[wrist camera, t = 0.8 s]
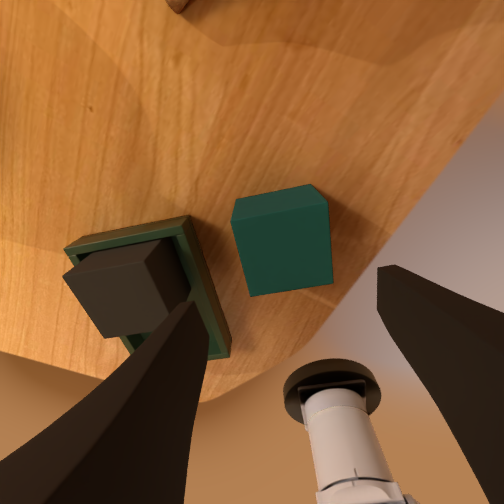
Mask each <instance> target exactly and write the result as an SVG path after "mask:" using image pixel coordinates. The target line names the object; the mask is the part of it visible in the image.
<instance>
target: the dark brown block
mask: <svg viewBox="0 0 504 504" xmlns="http://www.w3.org/2000/svg"><path fill="white" fill-rule="evenodd" d="M62 277H63V279H64V280H65V282H66V283H67V285H68V286H69V287H70V289H71V290H72V292H73V293H74V295H75V296H76V298H77V299H78V301H79V302H80V304H81V305H82V307H83V308H84V310H85V311H86V313H87V314H88V315H89V317H90V318H91V320H92V321H93V323H94V324H95V326H96V327H97V329H98V330H99V332H100V333H101V335H102V336H103V338H104V339H106V338H113V337H119V336H126V335H132V334H139V333H146V332H152V331H154V330H155V329H156V328H157V327H158V326H159V325H160V324H161V323H162V322H163V320H164V319H165V318H166V317H167V316H168V315H169V314H170V313H171V312H172V311H173V310H174V309H175V308H176V306H178V305H179V304H180V303H182V302H186V301H187V299H188V296H189V294H190V291H191V286H190V284H189V281H188V279H187V276H186V274H185V271H184V269H183V266H182V264H181V261H180V259H179V256H178V254H177V251H176V249H175V246H174V244H173V241H172V239H171V236H170V237H164V238H159V239H154V240H149V241H144V242H139V243H134V244H128V245H123V246H118V247H113V248H108V249H103V250H98V251H94V252H93V253H91V254H90V255H89V256H87V257H86V258H85V259H84V260H82V261H81V262H80V263H78V264H77V265H76V266H75V267H73V268H72V269H71V270H69V271H68V272H67V273H66V274H64V275H63V276H62Z"/></svg>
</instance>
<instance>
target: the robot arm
mask: <svg viewBox="0 0 504 504" xmlns="http://www.w3.org/2000/svg"><path fill="white" fill-rule="evenodd" d="M377 270H378V272H377V275H378V276H377V311H378V313H379V315H380V316H381V319H382V321H383V323H384V325H385V327H386V329H387V330H388V332H389V334H390V336H391V337H392V339H393V340H394V342H395V343H396V345H397V346H398V348H399V349H400V351H401V352H402V354H403V355H404V357H405V358H406V360H407V361H408V362H409V364H410V365H411V367H412V368H413V370H414V371H415V373H416V374H417V376H418V377H419V379H420V380H421V382H422V383H423V385H424V386H425V387H426V389H427V390H428V392H429V393H430V395H431V397H432V398H433V400H434V402H435V403H436V405H437V406H438V408H439V410H440V412H441V413H442V415H443V417H444V419H445V420H446V422H447V424H448V426H449V427H450V429H451V431H452V433H453V435H454V437H455V439H456V440H457V442H458V444H459V446H460V448H461V450H462V452H463V453H464V455H465V457H466V459H467V461H468V463H469V465H470V467H471V468H472V470H473V472H474V474H475V476H476V478H477V479H478V481H479V484H480V485H481V487H482V489H483V491H484V493H485V495H486V497H487V499H488V501H489V503H490V504H504V313H503V312H500V311H498V310H495V309H493V308H490V307H488V306H485V305H483V304H480V303H478V302H476V301H473V300H471V299H469V298H467V297H464V296H462V295H460V294H457V293H455V292H453V291H451V290H449V289H446V288H444V287H442V286H440V285H438V284H436V283H433V282H431V281H429V280H427V279H425V278H423V277H421V276H419V275H417V274H414V273H412V272H410V271H408V270H406V269H404V268H402V267H399V266H397V265H389V266H384V267H378V269H377ZM209 337H210V336H209V334H208V331H207V329H206V327H205V324H204V322H203V320H202V317H201V315H200V313H199V310H198V308H197V306H196V303H195V301H188V302H182V303H180V304H179V305H178V306H176V308H175V309H174V310H173V311H172V312H171V313H170V314H169V315H168V316H167V317H166V318H165V319H164V320H163V322H162V323H161V324H160V325H159V326H158V327H157V328H156V329H155V330H154V331H153V332H152V333H151V335H150V336H149V337H148V338H147V339H146V340H145V341H144V342H143V343H142V344H141V345H140V346H139V347H138V348H137V349H136V350H135V351H134V352H133V353H132V354H131V355H130V356H129V357H128V358H127V359H126V360H125V361H124V362H123V363H122V364H121V365H120V366H119V367H118V368H117V369H116V370H115V371H114V372H113V373H112V374H111V375H110V376H109V377H108V378H106V379H105V380H104V381H103V382H102V383H101V384H100V385H99V386H97V387H96V388H95V389H94V390H93V391H92V392H91V393H90V394H88V395H87V396H86V397H85V398H84V399H83V400H81V401H80V402H79V403H77V404H76V405H75V406H74V407H72V408H71V409H70V410H69V411H67V412H66V413H65V414H63V415H62V416H61V417H60V418H58V419H57V420H56V421H55V422H53V423H52V424H51V425H50V426H49V427H47V428H46V429H44V430H43V431H42V432H41V433H39V434H38V435H36V436H35V437H34V438H32V439H31V440H29V441H28V442H27V443H25V444H24V445H23V446H21V447H20V448H18V449H17V450H16V451H14V452H13V453H11V454H10V455H9V456H7V457H6V458H4V459H3V460H1V461H0V504H184V495H185V485H186V477H187V467H188V459H189V452H190V444H191V437H192V431H193V425H194V420H195V415H196V411H197V406H198V402H199V397H200V393H201V388H202V384H203V379H204V374H205V370H206V365H207V360H208V350H209ZM298 395H299V400H300V405H301V410H302V415H303V420H304V425H305V430H306V431H308V432H309V437H310V443H311V449H312V455H313V460H314V466H315V472H316V478H317V484H318V489H319V492H316V498H317V504H420V503H419V502H418V501H416V500H415V499H414V498H413V497H412V496H411V495H410V494H404V495H402V492H401V490H400V487H399V485H398V483H397V482H394V479H393V477H392V474H391V472H390V469H389V467H388V464H387V461H386V459H385V456H384V454H383V451H382V449H381V446H380V444H379V441H378V438H377V436H376V433H375V431H374V428H373V426H372V423H371V421H370V418H369V415H368V413H367V410H366V383H365V380H363V379H359V380H350V381H342V382H333V383H325V384H316V385H308V386H300V387H298Z"/></svg>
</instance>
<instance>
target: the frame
mask: <svg viewBox="0 0 504 504" xmlns="http://www.w3.org/2000/svg"><path fill="white" fill-rule="evenodd" d="M170 236H171V239H172V241H173V244H174V246H175V249H176V251H177V254H178V256H179V259H180V261H181V264H182V266H183V269H184V271H185V274H186V276H187V279H188V281H189V284H190V286H191V291H190V294H189V296H188V299H187V301H186V302H188V301H195V303H196V306H197V308H198V310H199V313H200V315H201V317H202V320H203V322H204V324H205V327H206V329H207V331H208V334H209V336H210V337H209V350H208V360H215V359H223V358H230V353H231V343H232V338H231V335H230V332H229V329H228V326H227V323H226V321H225V318H224V315H223V312H222V309H221V306H220V303H219V300H218V297H217V294H216V291H215V289H214V286H213V283H212V280H211V277H210V274H209V271H208V268H207V265H206V262H205V259H204V256H203V254H202V251H201V248H200V245H199V242H198V239H197V236H196V233H195V230H194V227H193V224H192V222H191V219H190V216H189V215H186V216H181V217H176V218H171V219H166V220H161V221H156V222H151V223H147V224H142V225H137V226H132V227H127V228H122V229H117V230H112V231H107V232H102V233H97V234H92V235H87V236H82V237H81V238H79V239H78V240H76V241H74V242H73V243H71V244H70V245H68V246H67V247H65V248H64V251H65V253H66V254H67V256H69V259H70V260H71V262H72V263H73V265H74V267H75V266H76V265H77V264H78V263H80V262H81V261H82V260H84V259H85V258H86V257H87V256H89V255H90V254H91V253H93V252H94V251H98V250H103V249H108V248H113V247H118V246H123V245H128V244H134V243H139V242H144V241H149V240H154V239H159V238H164V237H170ZM152 332H153V331H152ZM152 332H146V333H139V334H132V335H126V336H119V337H120V339H121V340H122V342H123V344H124V345H125V347H126V348H127V350H128V351H129V353H130V355H131V354H132V353H133V352H134V351H135V350H136V349H137V348H138V347H139V346H140V345H141V344H142V343H143V342H144V341H145V340H146V339H147V338H148V337H149V336H150V335H151V333H152ZM208 360H207V361H208Z"/></svg>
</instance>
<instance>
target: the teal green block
mask: <svg viewBox="0 0 504 504" xmlns="http://www.w3.org/2000/svg"><path fill="white" fill-rule="evenodd" d="M230 222H231V226H232V229H233V233H234V237H235V241H236V244H237V248H238V252H239V256H240V260H241V263H242V267H243V271H244V275H245V278H246V282H247V286H248V290H249V293H250V296H251V297H253V296H259V295H265V294H271V293H278V292H284V291H290V290H296V289H302V288H309V287H315V286H321V285H327V284H333V267H332V252H331V237H330V222H329V207H328V201H327V200H326V199H325V198H324V197H323V196H322V195H321V194H320V193H319V192H318V191H317V190H316V189H315V188H314V187H313V186H312V185H311V184H308V185H303V186H298V187H293V188H289V189H284V190H279V191H274V192H269V193H264V194H259V195H255V196H250V197H245V198H240V199H236V202H235V206H234V210H233V213H232V217H231V221H230Z"/></svg>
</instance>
